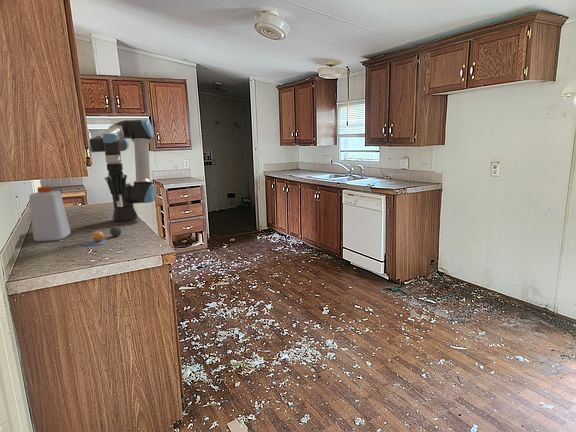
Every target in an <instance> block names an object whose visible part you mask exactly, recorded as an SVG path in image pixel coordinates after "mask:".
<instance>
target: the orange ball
mask: <svg viewBox="0 0 576 432" xmlns="http://www.w3.org/2000/svg"><path fill="white" fill-rule="evenodd" d="M92 239H93V240H94V241H96V242H100V241H102V240H103V239H105V233H104V232H102V231H100V230H97V231H96V230H95V232H93V233H92Z"/></svg>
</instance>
